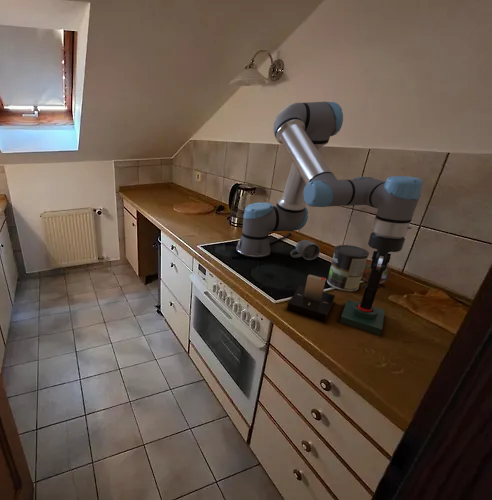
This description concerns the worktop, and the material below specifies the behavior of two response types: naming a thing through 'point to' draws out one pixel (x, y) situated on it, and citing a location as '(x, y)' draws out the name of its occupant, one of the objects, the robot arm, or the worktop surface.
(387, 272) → the tin
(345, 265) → the coffee can
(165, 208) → the worktop surface
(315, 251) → the ceramic mug
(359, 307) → the button
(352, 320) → the block
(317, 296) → the tan upright slab
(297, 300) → the black rectangular base
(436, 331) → the worktop surface
